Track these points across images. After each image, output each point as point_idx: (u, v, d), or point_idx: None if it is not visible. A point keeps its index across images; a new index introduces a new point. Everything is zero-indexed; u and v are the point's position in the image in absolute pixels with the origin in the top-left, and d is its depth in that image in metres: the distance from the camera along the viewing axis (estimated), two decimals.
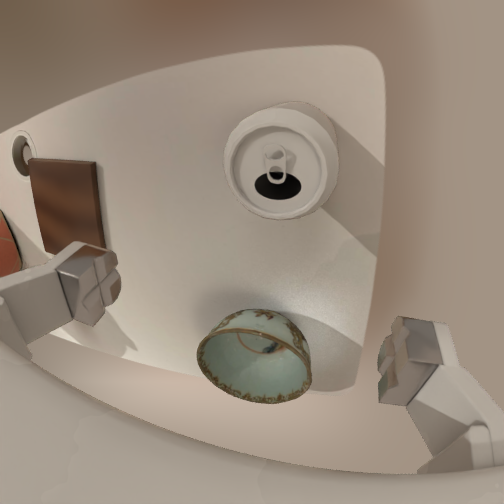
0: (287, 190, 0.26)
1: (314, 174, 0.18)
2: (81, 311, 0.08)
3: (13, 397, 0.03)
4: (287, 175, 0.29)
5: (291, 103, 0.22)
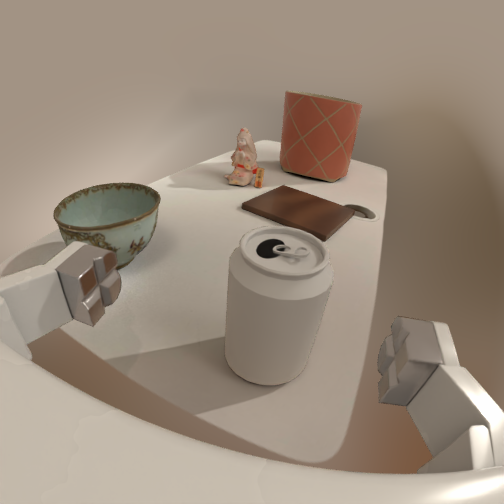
0: None
1: None
2: (81, 311, 0.08)
3: (13, 397, 0.03)
4: None
5: (313, 340, 0.24)
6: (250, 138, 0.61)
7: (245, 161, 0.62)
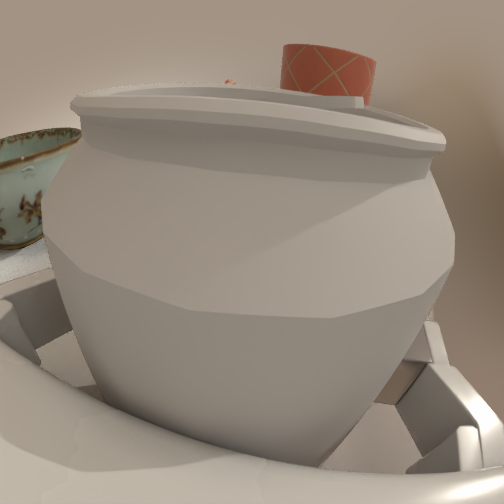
0: None
1: None
2: None
3: (13, 397, 0.03)
4: None
5: None
6: None
7: None
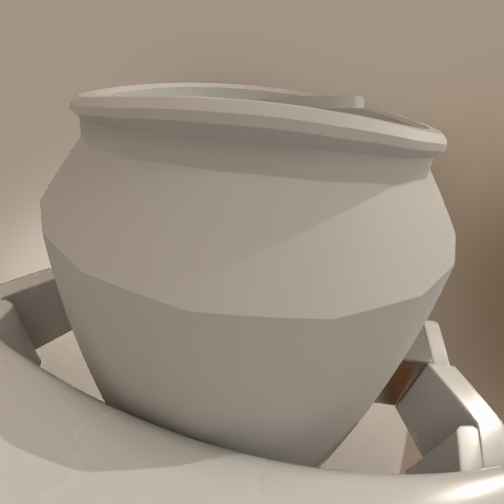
0: None
1: None
2: None
3: (13, 397, 0.03)
4: None
5: None
6: None
7: None
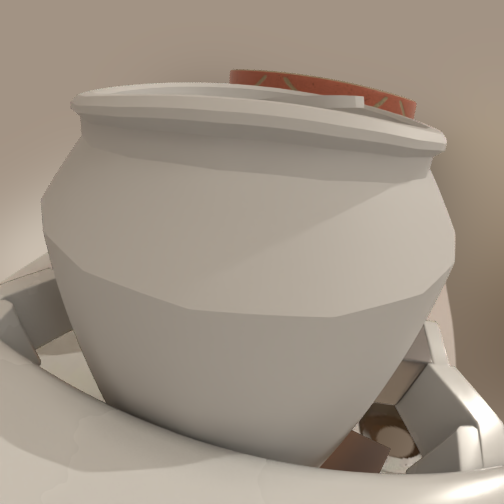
0: None
1: None
2: None
3: (13, 397, 0.03)
4: None
5: None
6: None
7: None
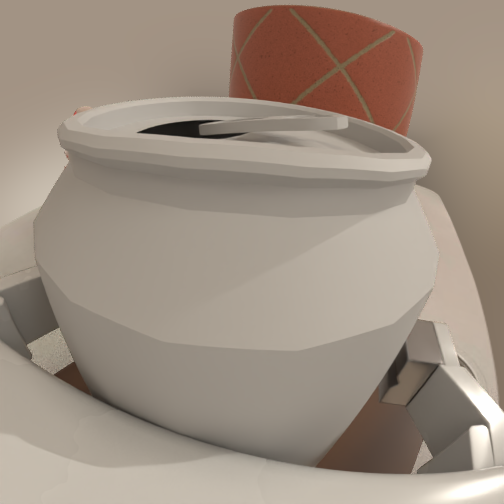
0: None
1: None
2: None
3: (13, 397, 0.03)
4: None
5: None
6: None
7: None
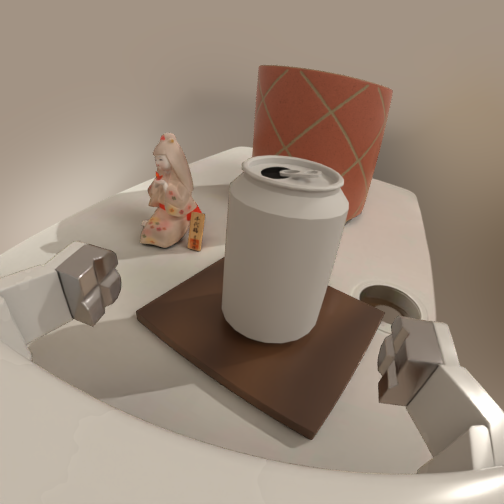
0: None
1: None
2: (81, 311, 0.08)
3: (13, 397, 0.03)
4: None
5: (326, 287, 0.21)
6: (177, 153, 0.30)
7: (167, 200, 0.31)
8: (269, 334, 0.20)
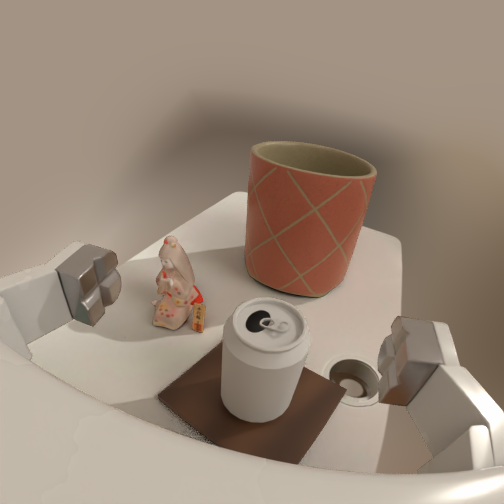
0: None
1: (255, 342, 0.23)
2: (81, 311, 0.08)
3: (13, 397, 0.03)
4: None
5: (294, 389, 0.27)
6: (180, 256, 0.37)
7: (174, 294, 0.38)
8: (254, 418, 0.27)
